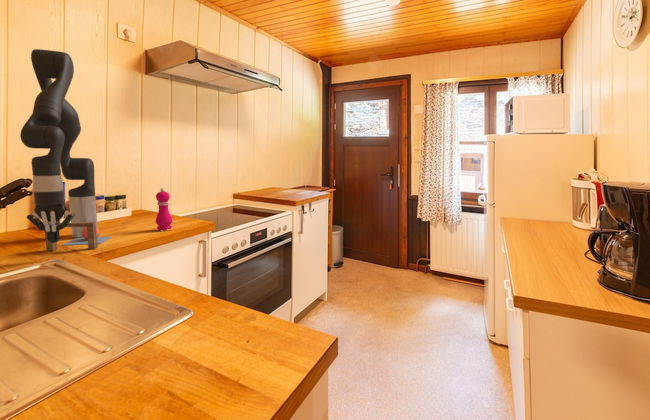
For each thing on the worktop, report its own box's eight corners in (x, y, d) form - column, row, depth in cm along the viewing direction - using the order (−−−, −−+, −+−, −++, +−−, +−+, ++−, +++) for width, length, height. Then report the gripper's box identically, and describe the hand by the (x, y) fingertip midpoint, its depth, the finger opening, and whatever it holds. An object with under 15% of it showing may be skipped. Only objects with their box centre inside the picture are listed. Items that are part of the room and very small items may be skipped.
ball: (81, 222, 138) (77, 234, 134) (98, 222, 140) (94, 233, 136) (86, 231, 142) (82, 243, 139) (102, 231, 144) (99, 242, 140)
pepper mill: (166, 231, 158) (164, 188, 155) (152, 230, 160) (150, 188, 157) (176, 228, 165) (174, 187, 162) (162, 228, 167) (160, 187, 164)
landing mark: (76, 238, 142) (76, 237, 142) (112, 236, 146) (111, 236, 146) (62, 245, 130) (61, 244, 130) (100, 243, 133) (100, 243, 133)
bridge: (50, 249, 124) (48, 223, 122) (97, 247, 128) (95, 221, 126) (46, 251, 121) (44, 224, 120) (94, 249, 125) (92, 223, 124)
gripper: (77, 188, 114) (82, 238, 117) (30, 188, 111) (36, 240, 113) (67, 190, 107) (72, 244, 110) (16, 190, 104) (23, 246, 106)
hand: (54, 242), depth 111 cm, fingers closed
